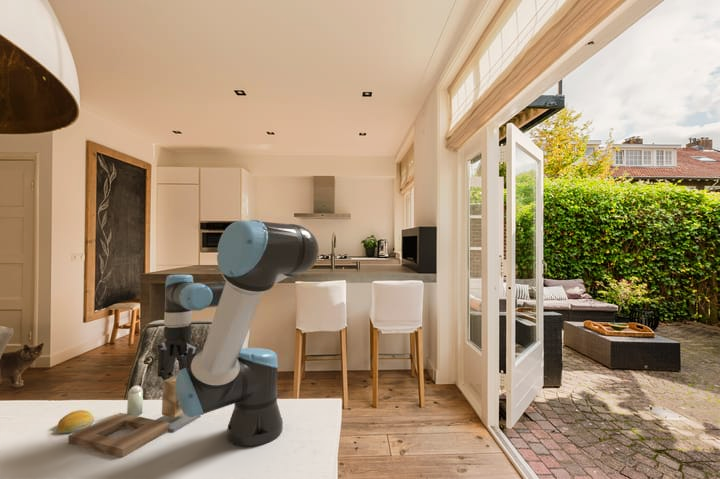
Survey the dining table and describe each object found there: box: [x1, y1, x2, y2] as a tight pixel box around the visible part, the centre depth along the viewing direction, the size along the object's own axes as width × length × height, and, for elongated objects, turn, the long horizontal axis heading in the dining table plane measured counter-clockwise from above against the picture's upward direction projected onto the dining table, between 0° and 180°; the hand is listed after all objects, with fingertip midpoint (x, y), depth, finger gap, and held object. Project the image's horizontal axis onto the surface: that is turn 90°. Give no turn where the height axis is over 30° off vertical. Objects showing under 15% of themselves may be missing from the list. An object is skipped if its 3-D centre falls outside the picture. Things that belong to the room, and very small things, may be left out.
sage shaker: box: [126, 385, 144, 417], centre depth 107 cm, size 4×4×9 cm
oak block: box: [161, 375, 183, 418], centre depth 103 cm, size 5×5×10 cm
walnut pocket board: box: [67, 412, 170, 458], centre depth 94 cm, size 20×14×2 cm
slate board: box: [155, 413, 202, 433], centre depth 102 cm, size 10×10×1 cm
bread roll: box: [56, 409, 95, 434], centre depth 99 cm, size 8×9×4 cm
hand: (175, 401), depth 103 cm, fingers closed on oak block, 5 cm apart
